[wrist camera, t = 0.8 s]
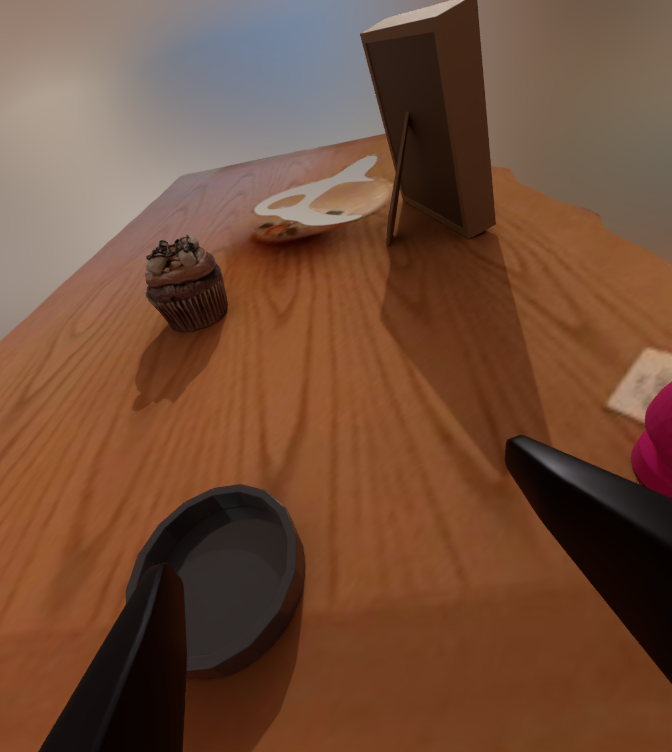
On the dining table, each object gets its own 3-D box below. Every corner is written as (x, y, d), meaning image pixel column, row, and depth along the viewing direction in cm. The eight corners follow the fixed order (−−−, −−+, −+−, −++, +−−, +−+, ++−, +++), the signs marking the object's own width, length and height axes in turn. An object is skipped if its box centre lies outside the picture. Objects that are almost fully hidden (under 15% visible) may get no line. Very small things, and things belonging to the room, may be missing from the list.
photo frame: (423, 194, 69) (423, 10, 52) (494, 231, 53) (527, -18, 36) (350, 215, 67) (325, 31, 51) (401, 259, 51) (389, 12, 35)
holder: (331, 615, 21) (323, 601, 19) (153, 723, 19) (127, 718, 17) (276, 479, 28) (267, 461, 26) (143, 546, 26) (124, 530, 24)
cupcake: (228, 288, 53) (200, 219, 47) (240, 319, 46) (209, 243, 40) (163, 309, 52) (124, 241, 45) (165, 345, 45) (119, 270, 38)
